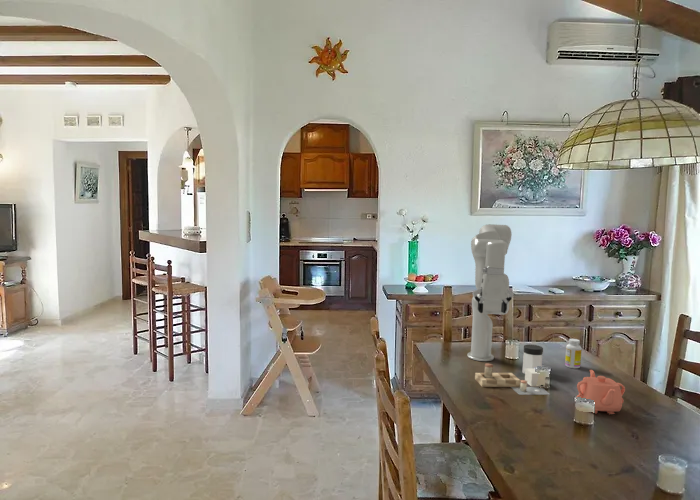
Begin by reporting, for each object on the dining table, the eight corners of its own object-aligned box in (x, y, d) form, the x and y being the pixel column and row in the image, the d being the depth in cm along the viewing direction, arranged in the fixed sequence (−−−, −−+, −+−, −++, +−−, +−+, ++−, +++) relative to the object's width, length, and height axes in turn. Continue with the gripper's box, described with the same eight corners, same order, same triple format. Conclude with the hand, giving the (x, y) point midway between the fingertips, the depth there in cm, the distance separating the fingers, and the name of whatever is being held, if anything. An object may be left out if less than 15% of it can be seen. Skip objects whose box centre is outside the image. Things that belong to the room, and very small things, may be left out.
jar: (545, 374, 228) (547, 347, 227) (535, 377, 223) (537, 350, 222) (527, 368, 235) (529, 343, 234) (517, 371, 230) (519, 345, 229)
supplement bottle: (581, 366, 241) (583, 339, 240) (579, 369, 236) (581, 342, 234) (566, 363, 245) (568, 337, 244) (563, 367, 239) (565, 340, 238)
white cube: (524, 381, 218) (525, 368, 217) (538, 381, 218) (539, 368, 218) (531, 387, 211) (532, 373, 211) (545, 387, 212) (546, 373, 211)
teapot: (588, 398, 201) (590, 367, 200) (632, 412, 188) (634, 379, 187) (567, 406, 192) (570, 373, 191) (612, 422, 179) (615, 387, 178)
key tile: (510, 387, 210) (511, 377, 209) (541, 387, 211) (542, 377, 211) (518, 395, 202) (519, 384, 202) (550, 395, 203) (551, 384, 203)
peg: (482, 381, 216) (483, 363, 215) (490, 381, 216) (491, 363, 215) (485, 384, 212) (486, 366, 212) (493, 384, 213) (494, 366, 212)
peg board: (474, 379, 218) (475, 372, 218) (511, 379, 220) (511, 372, 219) (482, 387, 209) (482, 380, 209) (519, 387, 211) (520, 380, 210)
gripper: (476, 272, 205) (474, 314, 207) (518, 273, 207) (515, 314, 208) (470, 269, 212) (468, 310, 214) (511, 270, 214) (508, 310, 216)
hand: (491, 312), depth 211 cm, fingers open, 9 cm apart
